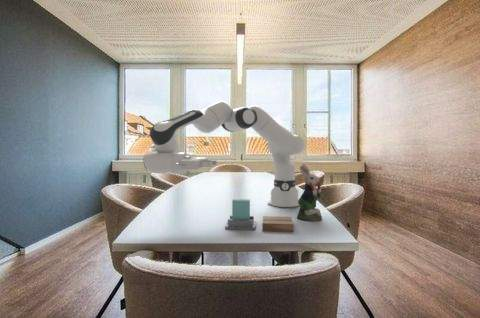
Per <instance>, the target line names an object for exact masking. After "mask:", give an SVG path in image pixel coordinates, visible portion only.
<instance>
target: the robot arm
mask: <svg viewBox="0 0 480 318" xmlns="http://www.w3.org/2000/svg"><path fill="white" fill-rule="evenodd" d="M190 125H193V126H194V128H196V130H197V131H199V132H201V133H204V134H210V133H212V132H214V131H216V130H217V129H218V128H219V127H222V129H224V130H225V131H227V132H230V133H234V132H239V131H244V130H247V129H249V128H251V129H253V130H254V132H256V133H257V134H258V135H259V136H260V137H261V138H262V139H263V140H265V141H267V143H266V145H267V150H268V151H269V152H270V154H271V156H272V159H273V165H274V180H273V188H271V191H270V200H269V201H268V202H267V205H268V206H274V207H279V208H293V207H294V208H295V207H300V205H299V204H298V200H299V190H298V189H297V186H296V185H297V180H296V166H295V164H294V163H293V161H292V159H291V156H296V155H298V154H299V155H300V154H301V153H302V152H303V151H304V150H305V139H304V138H303V137H301V136H300V135H297V134H295V133H294V132H291V131H290V130H288V129H287V128H285V127H284V126H282V125H281V124H279V123H278V122H277V121H276V120H275V119H274V118H273V117H272V116H271V115H270V114H269V113H268V112H267V111H265V110H264V109H263V108H262V107H260V106H258V105H256V104H252V105H250V106H241V107H236V108H233V109H232V108H231V105H229V103H228V102H226V101H224V100H219V101H216V102H214V103H212V104H210V105H207V106H206V107H205V108H203V109H199V108H195V109H190V110H186V111H185V112H182V113H181V114H178V115H176V116H173V117H172V118H169V119H166V120H162V121H159V122H157V123H154V125H152V127H151V128H150V130H149V137H150V139H151V141H152V143H153V145H154V148H153V150H152V151H150V152H148V153H145V154H144V155H143V158H142V159H143V165H144V168H145V170H146V172H148V173H151V174H168V173H169V174H180V175H181V174H182V175H183V174H184V175H186V174H187V173H188V172H190V171H191V170H192V171H193V170H195V171H196V170H200V169H204V168H208V167H210V168H211V167H213V166H216V165H217V163H218V161H217V160H211V159H209V158H207V157H203V156H194V155H191V154H188V153H187V152H180V146H179V145H180V144H179V143H178V140H177V137H176V133H177V132H178V131H179V130H181V129H184V128H185V127H188V126H190Z"/></svg>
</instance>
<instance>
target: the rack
mask: <svg viewBox="0 0 480 318" xmlns="http://www.w3.org/2000/svg"><path fill="white" fill-rule="evenodd" d="M254 217H255V216H254V215H250V220H246V219H232V214H231V215H229V218H228V219H227V222H226V223H225V225H224V229H225V230H242V231H243V230H246V231H247V230H248V231H256V227H257V226H256V225H257V221H255V220H254Z"/></svg>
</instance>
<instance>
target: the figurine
mask: <svg viewBox="0 0 480 318" xmlns="http://www.w3.org/2000/svg"><path fill="white" fill-rule="evenodd" d="M299 171H301V172H300V173H301V175H302V176H303V177H305V178H304V188H303V189H304V190H303V192H302V194H301V196H300V197H299V198H298V204H299V205H300V206H299V210H298V213H297V215H296V216H297V217H296V218H297V219H298V220H301V221H305V222H318V221H317V220H320V221H322V219H323V216H322V213H321V210H320V209H319V208H318V207H317V201H319V200H321V192H322V189H321V188H322V184H321V180H320V177H319V176H317V175H316V174H314V173H311V171H310V169H309V167H308V165H306V164H305V163H303V164H302V165H300V166H299ZM316 185H317V186H316ZM316 207H317V208H316Z"/></svg>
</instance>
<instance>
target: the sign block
mask: <svg viewBox="0 0 480 318" xmlns="http://www.w3.org/2000/svg"><path fill="white" fill-rule="evenodd" d="M231 204H232V205H231V207H232V208H231V209H232V212H231V215H232V219H246V220H250V216H251V200H250V198H249V199H248V198H247V199H246V198H244V199H243V198H242V199H241V198H233V199H232V203H231Z"/></svg>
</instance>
